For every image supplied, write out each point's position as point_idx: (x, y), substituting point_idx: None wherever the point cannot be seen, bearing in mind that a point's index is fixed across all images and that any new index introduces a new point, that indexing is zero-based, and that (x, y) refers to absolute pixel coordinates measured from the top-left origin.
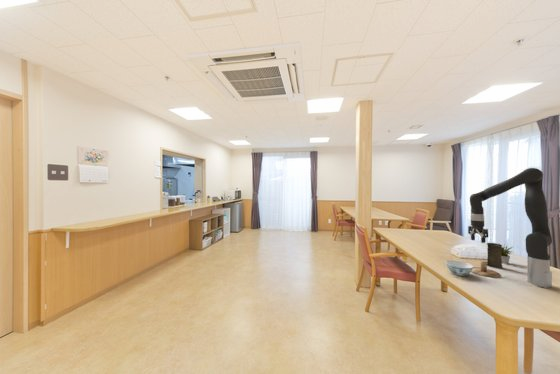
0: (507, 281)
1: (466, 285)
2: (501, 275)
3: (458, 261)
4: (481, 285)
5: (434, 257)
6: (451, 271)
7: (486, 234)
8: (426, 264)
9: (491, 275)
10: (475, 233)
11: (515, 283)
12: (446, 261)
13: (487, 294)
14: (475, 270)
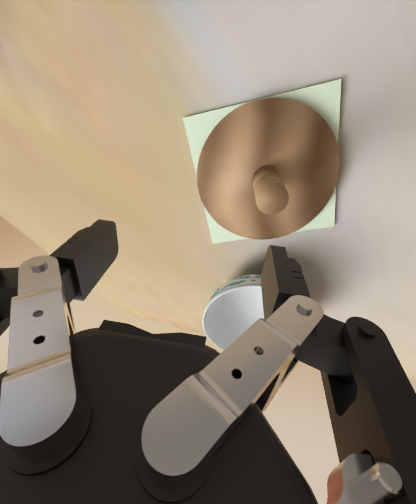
0: (378, 155)
1: None
2: (323, 107)
3: (217, 297)
4: (352, 300)
5: (25, 217)
6: (244, 319)
7: (366, 379)
8: (139, 314)
9: (320, 195)
10: (61, 286)
11: (413, 138)
12: (212, 340)
13: (400, 337)
14: (245, 210)
